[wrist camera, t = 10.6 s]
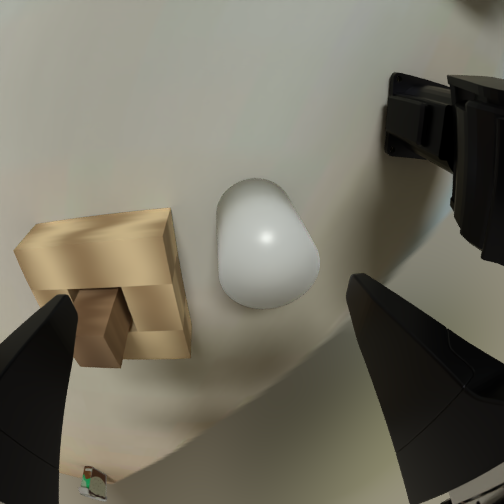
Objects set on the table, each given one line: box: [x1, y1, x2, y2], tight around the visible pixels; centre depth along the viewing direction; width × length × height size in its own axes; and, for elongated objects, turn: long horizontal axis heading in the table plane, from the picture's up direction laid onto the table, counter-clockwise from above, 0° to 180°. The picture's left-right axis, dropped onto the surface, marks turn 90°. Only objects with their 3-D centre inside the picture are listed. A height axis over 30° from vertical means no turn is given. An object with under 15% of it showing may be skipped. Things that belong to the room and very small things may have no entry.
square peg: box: [73, 287, 132, 368], centre depth 20 cm, size 3×3×8 cm
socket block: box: [14, 208, 192, 359], centre depth 22 cm, size 12×12×4 cm
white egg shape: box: [217, 178, 320, 309], centre depth 19 cm, size 6×6×7 cm
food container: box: [79, 466, 107, 502], centre depth 56 cm, size 12×6×10 cm, turn 3°
